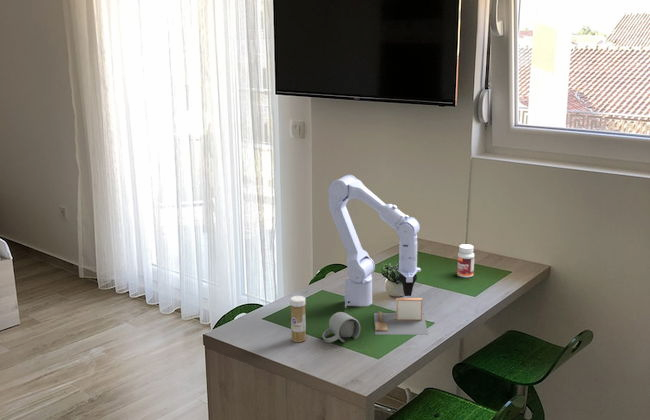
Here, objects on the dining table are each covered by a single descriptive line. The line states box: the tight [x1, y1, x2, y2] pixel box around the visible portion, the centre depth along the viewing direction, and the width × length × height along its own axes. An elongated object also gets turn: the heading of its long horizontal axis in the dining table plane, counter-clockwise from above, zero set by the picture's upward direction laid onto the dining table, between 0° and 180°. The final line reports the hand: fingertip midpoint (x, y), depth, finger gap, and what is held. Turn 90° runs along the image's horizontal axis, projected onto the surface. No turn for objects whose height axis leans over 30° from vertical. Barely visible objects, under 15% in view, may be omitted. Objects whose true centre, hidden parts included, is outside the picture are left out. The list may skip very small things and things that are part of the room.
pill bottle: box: [456, 243, 475, 278], centre depth 257 cm, size 6×6×11 cm
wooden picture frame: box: [395, 297, 423, 320], centre depth 218 cm, size 8×2×7 cm, turn 87°
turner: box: [374, 311, 387, 331], centre depth 217 cm, size 4×12×1 cm, turn 177°
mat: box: [373, 312, 429, 336], centre depth 217 cm, size 16×16×1 cm
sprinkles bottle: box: [289, 295, 307, 343], centre depth 207 cm, size 5×5×14 cm
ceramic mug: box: [321, 311, 361, 344], centre depth 208 cm, size 11×8×8 cm
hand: (407, 295), depth 225 cm, fingers closed
